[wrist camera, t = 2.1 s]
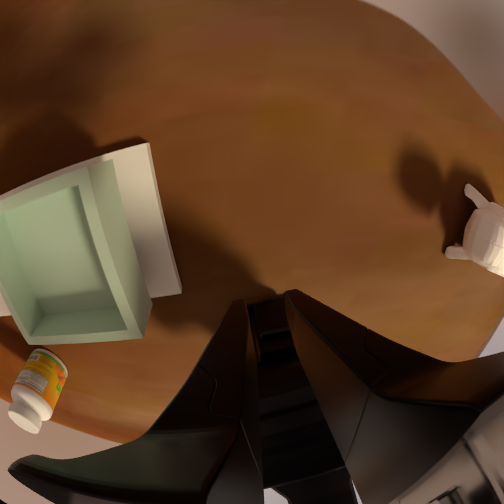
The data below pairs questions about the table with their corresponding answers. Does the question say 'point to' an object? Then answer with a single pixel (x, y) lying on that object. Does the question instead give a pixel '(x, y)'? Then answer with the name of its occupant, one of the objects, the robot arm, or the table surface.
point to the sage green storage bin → (72, 261)
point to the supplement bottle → (37, 390)
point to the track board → (133, 216)
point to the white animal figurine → (482, 235)
